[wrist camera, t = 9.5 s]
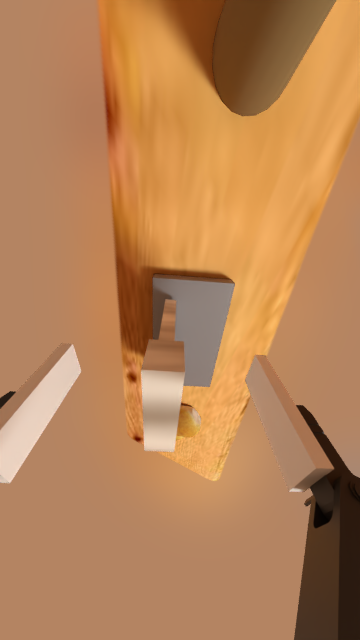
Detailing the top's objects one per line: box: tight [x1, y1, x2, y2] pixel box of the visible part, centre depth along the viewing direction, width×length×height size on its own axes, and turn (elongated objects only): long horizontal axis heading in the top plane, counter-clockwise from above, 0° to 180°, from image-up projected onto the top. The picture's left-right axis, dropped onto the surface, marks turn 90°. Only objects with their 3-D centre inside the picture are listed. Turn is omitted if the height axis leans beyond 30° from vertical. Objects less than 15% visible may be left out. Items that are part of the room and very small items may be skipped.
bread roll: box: [176, 405, 201, 440], centre depth 33 cm, size 8×9×4 cm
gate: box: [141, 299, 185, 452], centre depth 18 cm, size 12×3×10 cm, turn 175°
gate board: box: [153, 274, 235, 387], centre depth 24 cm, size 17×9×2 cm, turn 176°
